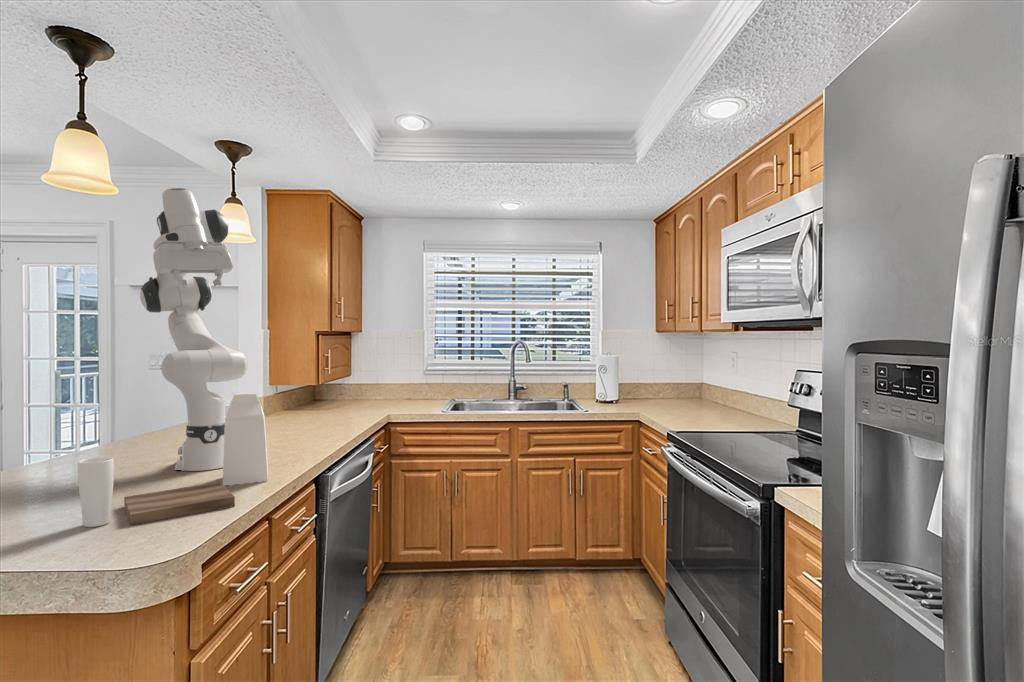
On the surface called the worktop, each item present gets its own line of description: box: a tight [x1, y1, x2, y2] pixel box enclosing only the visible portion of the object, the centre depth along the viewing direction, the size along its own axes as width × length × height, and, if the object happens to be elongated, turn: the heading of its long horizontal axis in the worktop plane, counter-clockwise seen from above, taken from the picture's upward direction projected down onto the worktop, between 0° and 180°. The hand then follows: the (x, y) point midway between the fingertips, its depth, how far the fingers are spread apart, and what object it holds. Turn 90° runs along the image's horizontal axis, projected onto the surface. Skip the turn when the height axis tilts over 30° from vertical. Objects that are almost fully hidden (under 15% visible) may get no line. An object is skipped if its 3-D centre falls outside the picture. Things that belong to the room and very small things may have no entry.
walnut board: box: [123, 481, 236, 526], centre depth 141 cm, size 18×22×2 cm
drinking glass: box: [77, 456, 115, 528], centre depth 128 cm, size 7×7×15 cm
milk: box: [222, 392, 269, 487], centre depth 167 cm, size 12×12×26 cm
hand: (201, 286), depth 157 cm, fingers open, 8 cm apart
